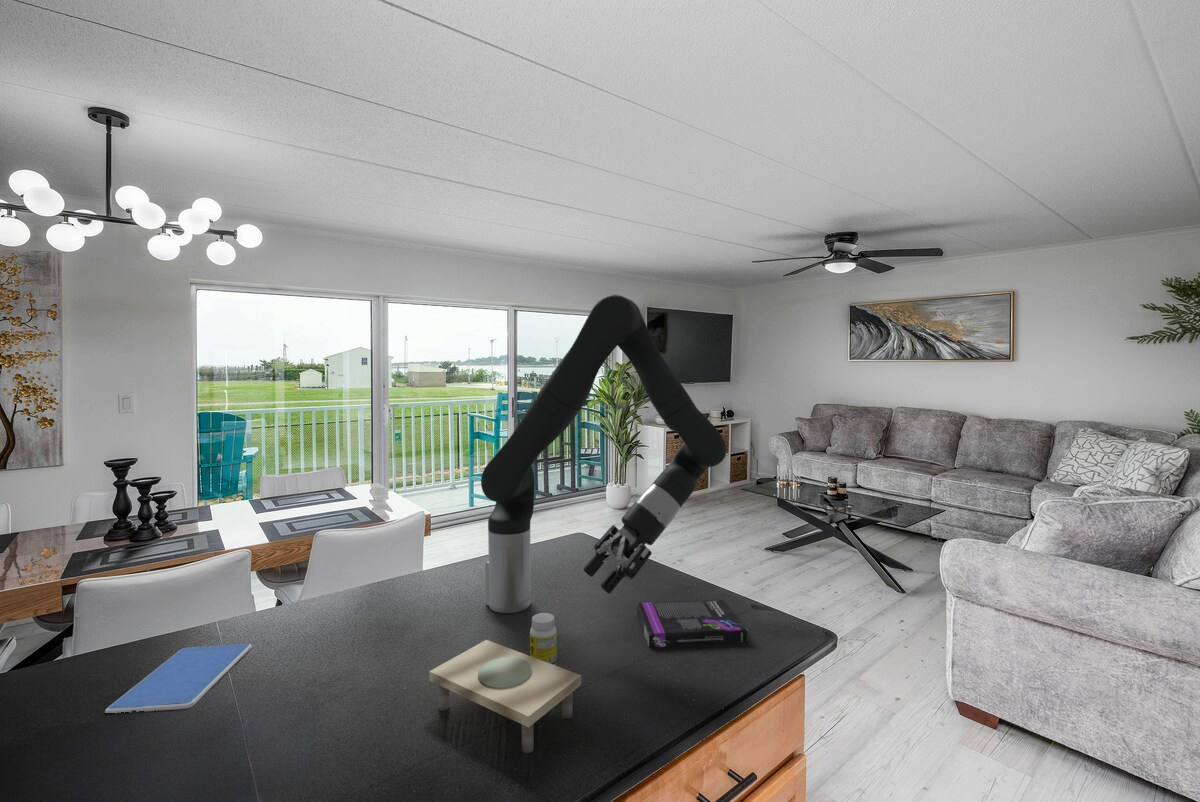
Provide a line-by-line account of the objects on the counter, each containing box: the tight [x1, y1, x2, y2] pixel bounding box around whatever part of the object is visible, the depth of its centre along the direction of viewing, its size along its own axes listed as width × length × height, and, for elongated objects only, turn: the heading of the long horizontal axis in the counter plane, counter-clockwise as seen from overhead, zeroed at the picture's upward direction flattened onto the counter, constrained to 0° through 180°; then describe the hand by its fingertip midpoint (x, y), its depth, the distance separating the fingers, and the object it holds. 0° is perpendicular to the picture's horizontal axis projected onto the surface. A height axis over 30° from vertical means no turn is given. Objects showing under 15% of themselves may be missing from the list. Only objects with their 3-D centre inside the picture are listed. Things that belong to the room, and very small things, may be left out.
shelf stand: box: [428, 639, 582, 754], centre depth 84 cm, size 20×12×6 cm, turn 56°
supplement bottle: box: [529, 612, 558, 666], centre depth 97 cm, size 5×5×8 cm
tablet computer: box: [104, 643, 252, 714], centre depth 93 cm, size 19×13×1 cm, turn 7°
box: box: [636, 599, 749, 648], centre depth 111 cm, size 14×4×20 cm
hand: (595, 581), depth 101 cm, fingers open, 8 cm apart
